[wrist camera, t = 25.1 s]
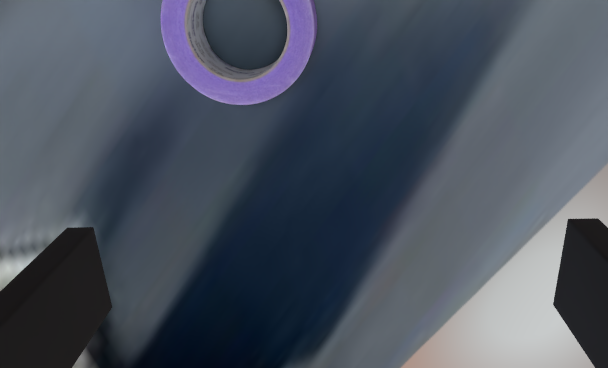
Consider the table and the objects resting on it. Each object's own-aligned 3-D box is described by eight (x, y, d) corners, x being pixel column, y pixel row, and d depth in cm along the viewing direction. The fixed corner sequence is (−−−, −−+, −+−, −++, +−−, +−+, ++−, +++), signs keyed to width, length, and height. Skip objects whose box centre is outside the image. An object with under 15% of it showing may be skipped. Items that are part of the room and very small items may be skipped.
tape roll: (155, -24, 41) (132, -24, 36) (288, -78, 39) (282, -85, 34) (212, 109, 45) (198, 125, 41) (335, 67, 43) (335, 78, 38)
